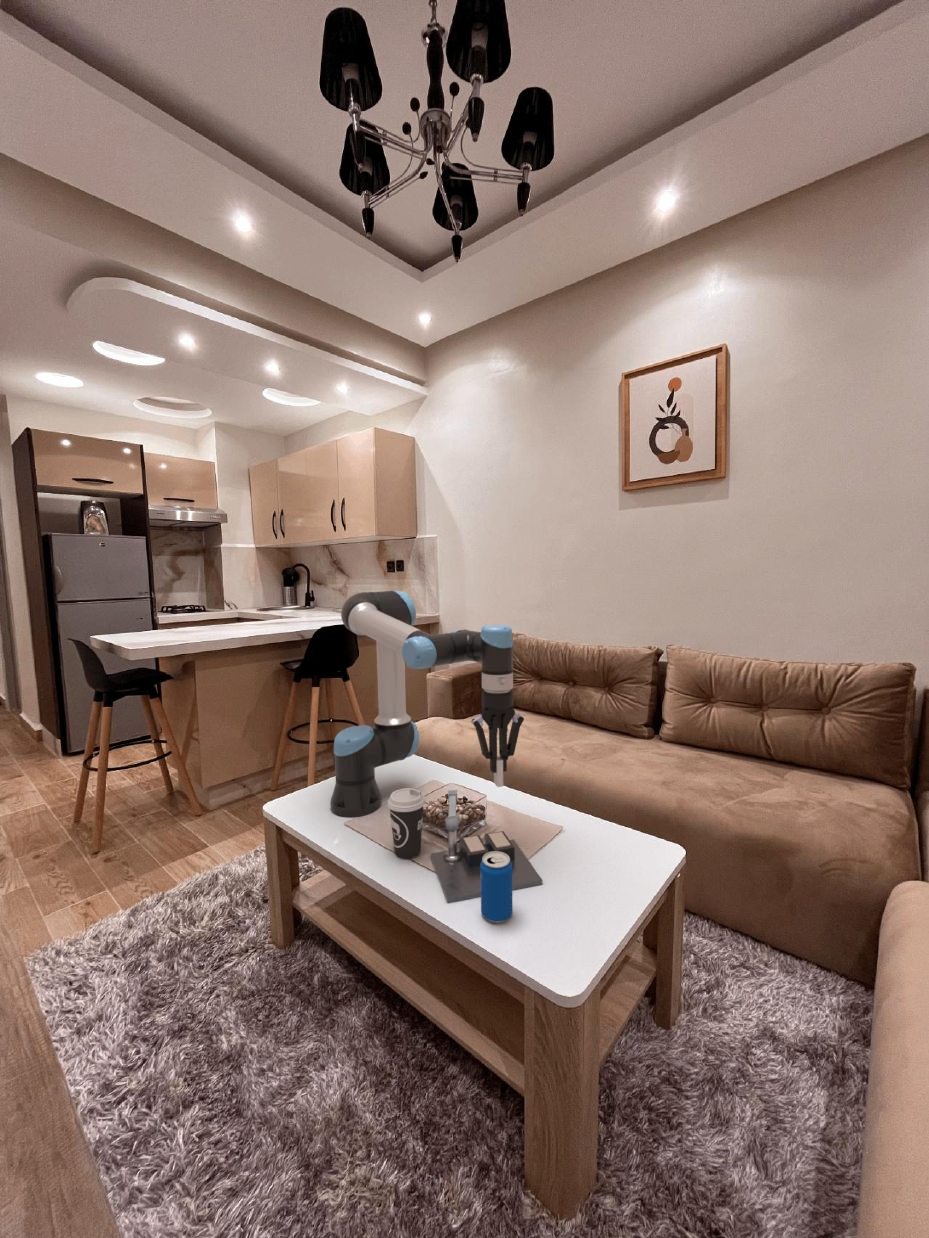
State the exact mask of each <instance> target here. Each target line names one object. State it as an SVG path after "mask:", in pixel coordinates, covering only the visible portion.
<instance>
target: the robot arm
mask: <svg viewBox="0 0 929 1238" xmlns="http://www.w3.org/2000/svg"><path fill="white" fill-rule="evenodd" d="M340 612H341V614H340V617H341V620H342V621H341V622H342V624H343V625H344V627H345V628H346V629H348V631H350V632H352V633H354V634H355V635H357V636H366V637H369V638H370V639H373V640H374V641H376V663H377V664H376V666H377V695H378V696H377V699H378V700H377V701H378V715H377V716H376V718H374V720H373V722H374V724H373V725H374V727H372V726H370V725H366V724H360V725H358V726H357V725H354V726H349V727H347V728H344V729H342V730H341V731H339V732H338V733H337V734H336V736H335V737H334V742H333V743H334V744H333V754H334V755H333V757H334V771H335V773H334V774H335V776H334V777H335V784H334V788H333V791H332V795H331V799H330V811H331V812H332V813H333V814H334V815H337V816H340V817H346V818H347V817H349V818H353V817H354V818H355V817H363V816H366V815H370V814H371V813H373V812H375V811H376V810H378V809H379V808H380V807H381V806H382V794H381V791H380V789H379V786H378V783H377V781H376V777H375V775H376V774H375V773H376V771H375V769H376V768H378V767H381V766H384V765H387V764H391V763H395V762H398V761H403V760H405V759H406V758H410V757H412V756H413V755H414V754H415V753H416V752H417V750H418V748H419V743H420V733H419V730H418V729H417V728H418V727H417V724H416V723H415V722H414V721H413V720H412V717H411V716H410V715H409V714H408V713H407V703H406V702H407V698H406V696H407V695H406V693H407V692H406V666H407V668H409V669H412V670H419V669H420V670H425V669H429V668H434V667H439V666H440V667H441V666H445V665H450V664H451V665H452V664H457V663H464V662H475V663H480V664H481V688H482V691H481V710H480V714H479V716H477V717H476V718H472V719H471V724H472V725H473V726H474V728H475V731H476V735H477V739H478V743H479V747H480V750H481V754H482V756H483V757H484V758H485V759H486V760H489V771H490V772H491V773H492V774H493V783H494V785H495V786H496V788H500V787H504V772H507V770H508V768H507V767H508V766H507V765H508V764H507V763H508V760H509V757H513V756H514V755H515V753H516V747H517V743H518V738H519V734H520V729H521V726H522V725H523V722H524V721H525V718H524V717H523V716H522V715H521V714H517V713H516V711H515V709H514V691H513V690H512V689H513V688H514V667H513V665H514V664H513V662H514V656H513V655H514V640H513V639H514V638H513V629H512V628H511V627H510V626H509V625H506V624H488V625H487V624H486V625H483V626H482V627H481V630H480V631H474V630H469V629H455V630H452V631H451V632H448V633H447V632H446V633H437V634H436V633H435V634H431V633H428V632H425V631H423V630H421V629H419V628H416V627H415V626H413V625H414V624H415V621H416V620H417V611H416V606H415V603H414V601H413V599H412V597H411V596H410V595H409V594H408V593H407V592H404V591H402V590H401V591H400V590H399V591H398V590H385V591H384V590H383V591H382V590H381V591H368V592H367V591H363V592H358V593H355V594H353V595H351V596H350V597H349V598H348V599H347V600H345V602H344V603H343V605H342V608H341V611H340ZM483 721H484V722H483ZM511 721H512V722H511ZM484 723H486V725H487V727H488V728H487V729H488V742H487V739H486V735H485V731H484V729H483V726H484ZM509 724H511V726H510V730H509V728H508V726H509ZM508 730H509V735H508ZM487 743H488V744H487ZM498 746H499V747H498ZM498 749H499V750H498ZM498 751H499V752H498ZM498 753H499V756H498Z"/></svg>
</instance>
